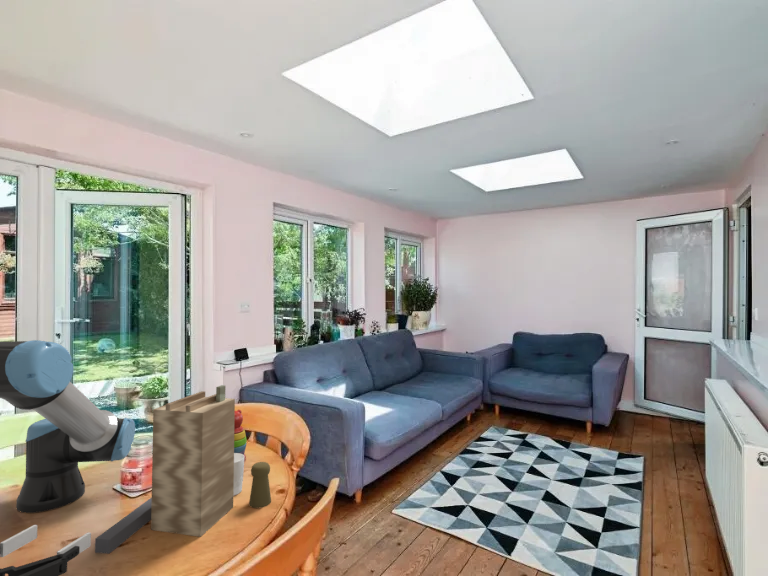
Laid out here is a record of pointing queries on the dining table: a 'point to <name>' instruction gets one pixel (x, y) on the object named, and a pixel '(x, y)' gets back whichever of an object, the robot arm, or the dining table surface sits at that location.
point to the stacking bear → (239, 434)
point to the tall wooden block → (192, 463)
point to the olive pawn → (260, 485)
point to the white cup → (238, 473)
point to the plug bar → (123, 529)
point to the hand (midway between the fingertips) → (62, 535)
